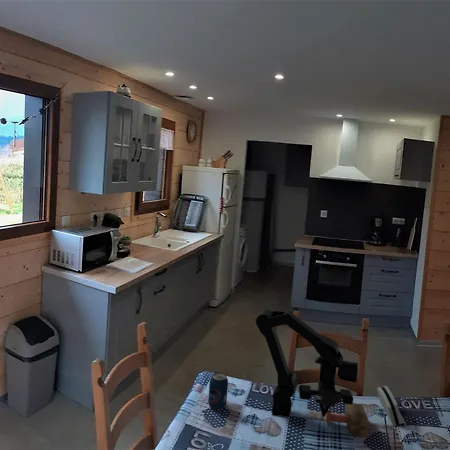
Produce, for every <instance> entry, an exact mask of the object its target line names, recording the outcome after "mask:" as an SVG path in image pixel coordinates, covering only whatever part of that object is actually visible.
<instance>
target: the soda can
mask: <svg viewBox="0 0 450 450" xmlns="http://www.w3.org/2000/svg"><path fill="white" fill-rule="evenodd" d="M228 385H229V380H228V376H227V374H225V373H222V372H214V373H212V374H211V377H210V378H209V385H208V396H207V397H208V398H207V399H208V400H207V402H208V406H209V407H210V408H211V407H212V408H214V409H221V410H223V409H225V407H226V406H227V399H228V387H229V386H228ZM212 408H211V409H212ZM222 408H223V409H222ZM214 409H213V410H214Z"/></svg>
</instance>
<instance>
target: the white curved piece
mask: <svg viewBox="0 0 450 450" xmlns="http://www.w3.org/2000/svg"><path fill="white" fill-rule="evenodd" d="M376 390H377V393H378V399H379V402H380V405H381V406H382V408H383V407H384V408H383V410H384V409H385V410H384V412H385V411H386V412H385V413H387V414H386V416H387V415H388V416H387V417H388V419H389V421H390V423H391V425H392V426H397V424H399V425H402V424H403V423H404V424H403V425H404V427H406V426H407V423H406V421H405V419H404V417H403V416H402V414H401V412H400V409H399V406H398V403H397V401H396V399H395V397H394V395H393V393H392V392H391V390H390V388H389V387H388V386H387V385H382V387H381V386H379V387H376Z"/></svg>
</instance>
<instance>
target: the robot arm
mask: <svg viewBox="0 0 450 450" xmlns="http://www.w3.org/2000/svg"><path fill="white" fill-rule="evenodd" d="M255 324H256V326H257V329H258V331H259V332H260V333H261V335H263V337H264V338H265V342H266V344H267V346H268V350H269V353H270V355H271V359H272V361H273V364H274V367H275V371H276V373H277V374H276V375H277V385H276V387H275V389H274V390H273V392H272V394H271V396H272V405H271V414H272V416H277V417H286V418H290V417H291V415H290V414H291V413H292V405H293V403H292V402H293V401H292V399H291V398H292V397H293V396H294V395H295V393H296V391H297V388H298V396H299V399H300V400H308V401H309V400H310V399H312V396H313V397H314V400H315V402H316V403H317V404H318V405H319V407H320V412H321V417H323V418H326V413H327V411H329V409H330V408H331V407H335V406H336V405H337V404H339V403H343V404H344V405H346V404H351V405H352V404H353V403H354V397H353V394H352V391H351V390H350V389H346V388H345V389H344V388H340V389H339V391H338V390H336V376H337V377H338V379H340V380H341V381H346V382H351V383H355V384H357V382H358V375H359V374H358V373H359V363H358V362H355V361H349V360H348V361H347V360H344V356H343V355H342V353H341V351H340V347H339V343H338V342H336V341H335V340H333V339H332V338H330V337H329V336H325V335H322V334H320V333H319V332H317V331H316V330H315V329H313V328H312V327H311V326H309V324H307V323H305V322H304V321H303V320H301V319H300V318H299V317H297V315H295V314H294V312H292V311H290V310H286V311H281V310H270V309H264V310H262V311H261V312H260V314H258V316H256V319H255ZM284 325H285V326H288V327H289V328H290V329H291V330H293V331H294V332H295V333H297V334H298V335H299V336H300V337H302V338H303V339H304V340H305V341H306V342H308V344H309V343H310V345H312V346H313V348H314V349H315V352H317V354H318V355H319V356H317V357H315V360H314V363H315V364H318V365H319V374H318V385H317V389H311V385H308V384H307V385H306V384H300V385H299V384H298V383H299V381H300V380H299V379H298V377H297V373H296V371H295V370H293V371H292V370H291V369H290V368H289V366H288V363H287V361H286V357H285V355H284V354H285V353H284V351H283V349H282V346H281V343H280V340H279V336H278V333H277V327H279V326H284ZM298 385H299V386H298Z"/></svg>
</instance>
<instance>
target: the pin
mask: <svg viewBox="0 0 450 450" xmlns="http://www.w3.org/2000/svg"><path fill="white" fill-rule="evenodd" d="M331 422H337V423H345V424H347V423H349V416H345V414H343V415H342V414H336V413H331V410H328V411H327V413H326V415H325V423H326V424H329V425H330V424H331Z"/></svg>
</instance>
